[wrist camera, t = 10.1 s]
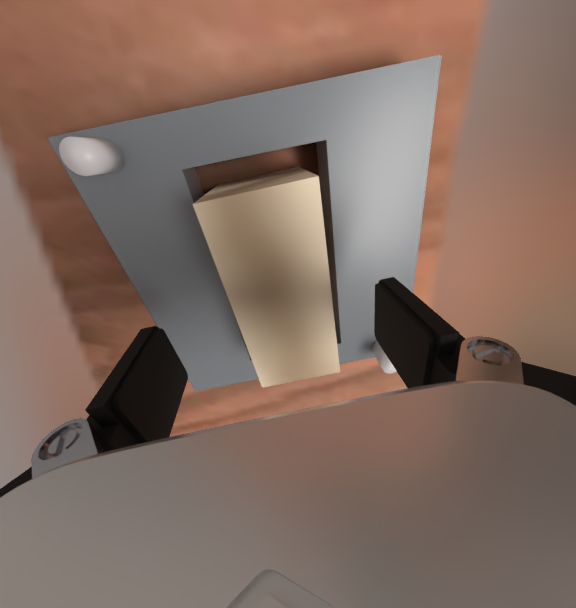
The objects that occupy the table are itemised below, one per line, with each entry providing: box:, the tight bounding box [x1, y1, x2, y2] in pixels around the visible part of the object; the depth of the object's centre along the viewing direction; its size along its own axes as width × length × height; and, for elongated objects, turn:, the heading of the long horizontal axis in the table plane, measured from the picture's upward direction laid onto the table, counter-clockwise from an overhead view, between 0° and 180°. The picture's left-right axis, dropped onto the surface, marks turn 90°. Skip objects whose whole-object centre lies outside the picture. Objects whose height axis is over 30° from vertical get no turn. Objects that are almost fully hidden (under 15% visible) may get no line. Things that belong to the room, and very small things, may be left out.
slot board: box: [47, 55, 442, 391], centre depth 14 cm, size 16×16×4 cm
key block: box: [193, 167, 340, 388], centre depth 14 cm, size 4×10×6 cm, turn 11°
